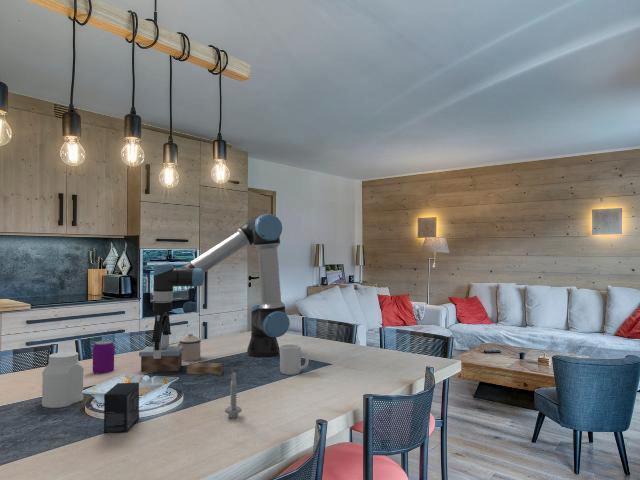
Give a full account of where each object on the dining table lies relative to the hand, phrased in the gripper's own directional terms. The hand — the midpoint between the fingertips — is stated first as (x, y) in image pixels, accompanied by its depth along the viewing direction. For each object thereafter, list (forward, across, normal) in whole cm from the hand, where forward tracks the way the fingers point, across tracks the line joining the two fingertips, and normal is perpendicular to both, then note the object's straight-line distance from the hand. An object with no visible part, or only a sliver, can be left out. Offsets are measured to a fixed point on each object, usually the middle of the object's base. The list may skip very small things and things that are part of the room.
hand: (161, 354), depth 185 cm
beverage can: (+7, +1, -22) cm, 23 cm away
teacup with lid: (+7, -18, +7) cm, 20 cm away
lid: (-1, 0, 0) cm, 1 cm away
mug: (+6, +7, +53) cm, 54 cm away
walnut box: (+6, 0, 0) cm, 6 cm away
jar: (+7, +36, -22) cm, 43 cm away
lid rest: (+6, +6, +18) cm, 20 cm away
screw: (+6, +54, +33) cm, 64 cm away
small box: (+7, +58, +3) cm, 59 cm away
